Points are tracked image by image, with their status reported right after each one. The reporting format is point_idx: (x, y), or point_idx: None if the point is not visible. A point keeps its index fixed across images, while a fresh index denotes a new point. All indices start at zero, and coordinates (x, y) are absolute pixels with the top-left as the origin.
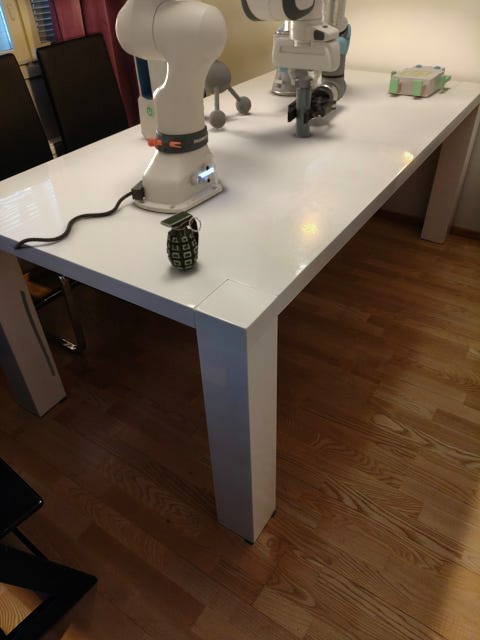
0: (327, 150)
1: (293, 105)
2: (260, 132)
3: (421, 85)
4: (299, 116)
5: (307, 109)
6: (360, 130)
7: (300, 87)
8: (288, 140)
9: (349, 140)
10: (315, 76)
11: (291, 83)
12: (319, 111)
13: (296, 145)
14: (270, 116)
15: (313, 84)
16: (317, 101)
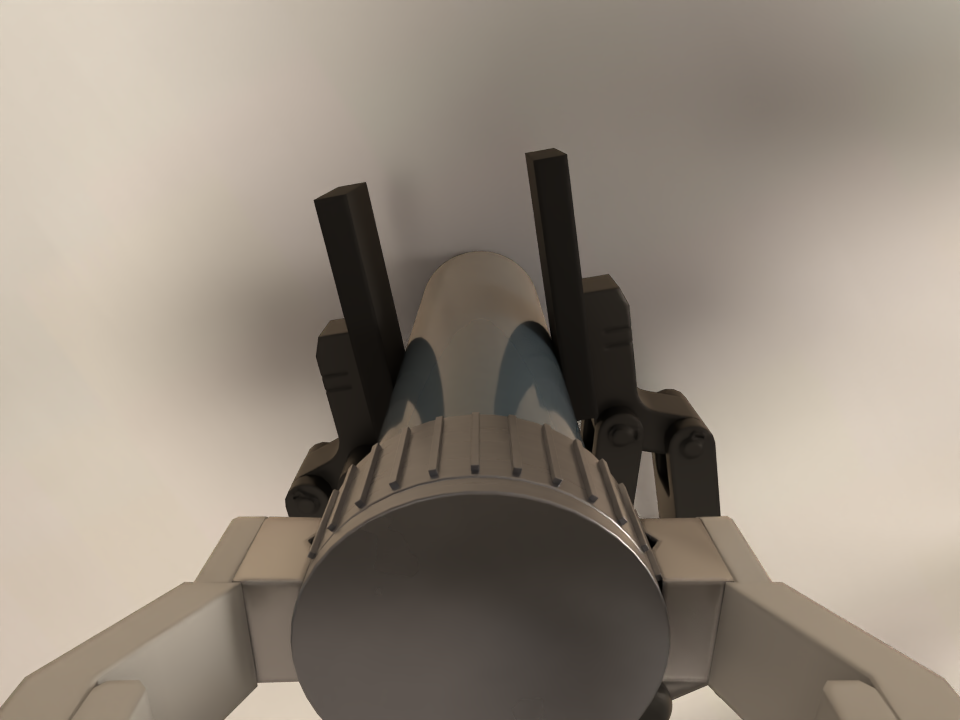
0: (66, 47)
1: (670, 489)
2: (860, 204)
3: None
4: (481, 296)
5: (402, 364)
6: (167, 576)
7: (463, 419)
8: (516, 125)
9: (89, 359)
10: (114, 647)
11: (725, 522)
12: (328, 456)
13: (378, 32)
14: (938, 583)
15: (236, 540)
16: None
